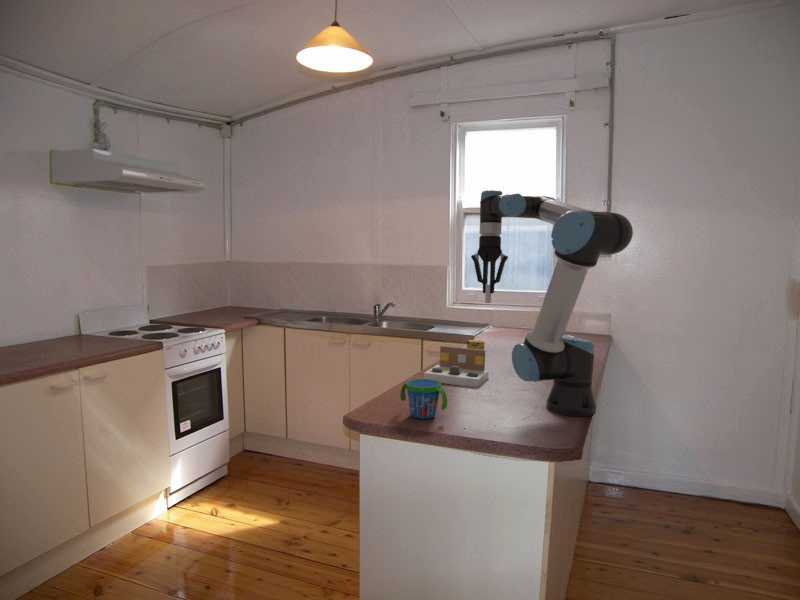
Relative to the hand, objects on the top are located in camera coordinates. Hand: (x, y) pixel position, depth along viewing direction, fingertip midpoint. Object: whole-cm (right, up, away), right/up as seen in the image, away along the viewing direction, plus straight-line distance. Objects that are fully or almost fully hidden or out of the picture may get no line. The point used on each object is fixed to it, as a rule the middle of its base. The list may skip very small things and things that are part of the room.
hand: (488, 302), depth 195 cm
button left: (-17, -29, +16) cm, 37 cm away
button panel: (-9, -30, +16) cm, 35 cm away
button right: (-4, -30, +11) cm, 32 cm away
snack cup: (-24, -34, -30) cm, 52 cm away
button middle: (-11, -28, +13) cm, 33 cm away
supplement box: (+1, -28, +41) cm, 50 cm away
